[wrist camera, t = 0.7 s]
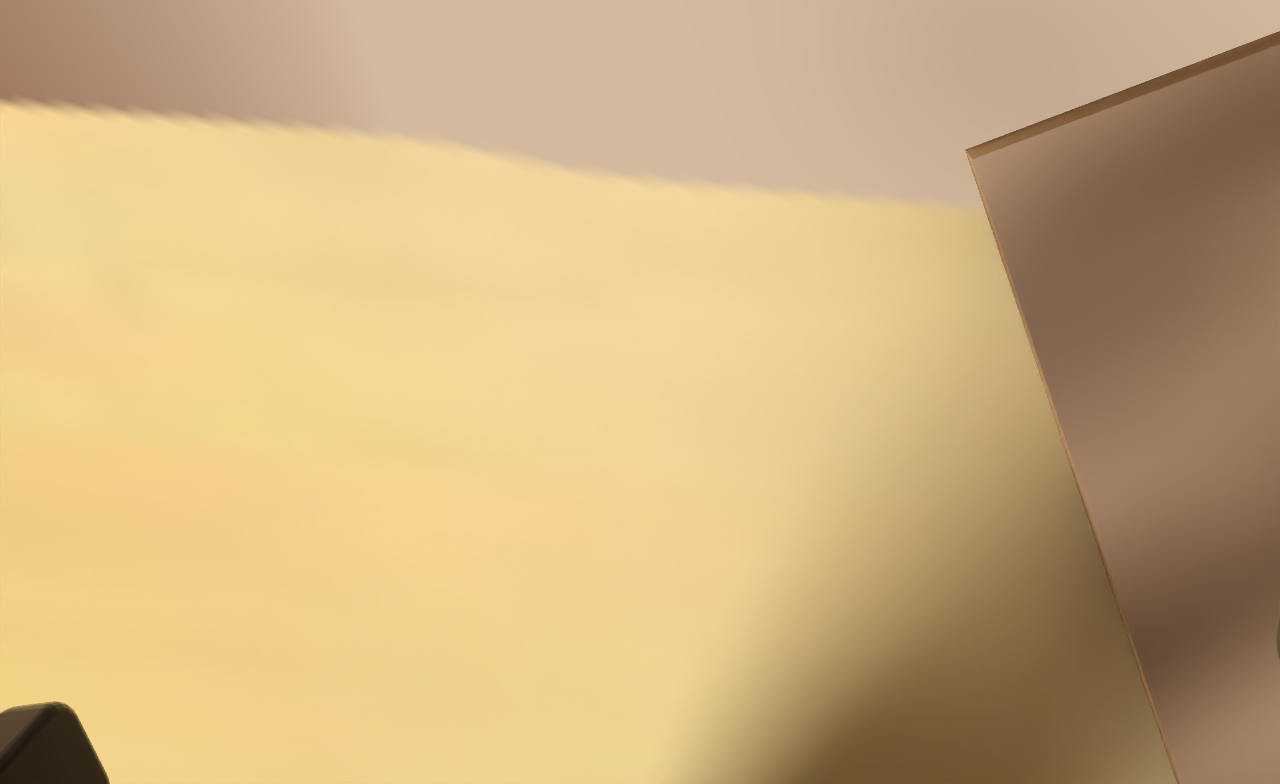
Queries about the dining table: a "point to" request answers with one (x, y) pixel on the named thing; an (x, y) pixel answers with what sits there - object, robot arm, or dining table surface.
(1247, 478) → the shelf board
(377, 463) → the dining table surface
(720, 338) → the dining table surface
